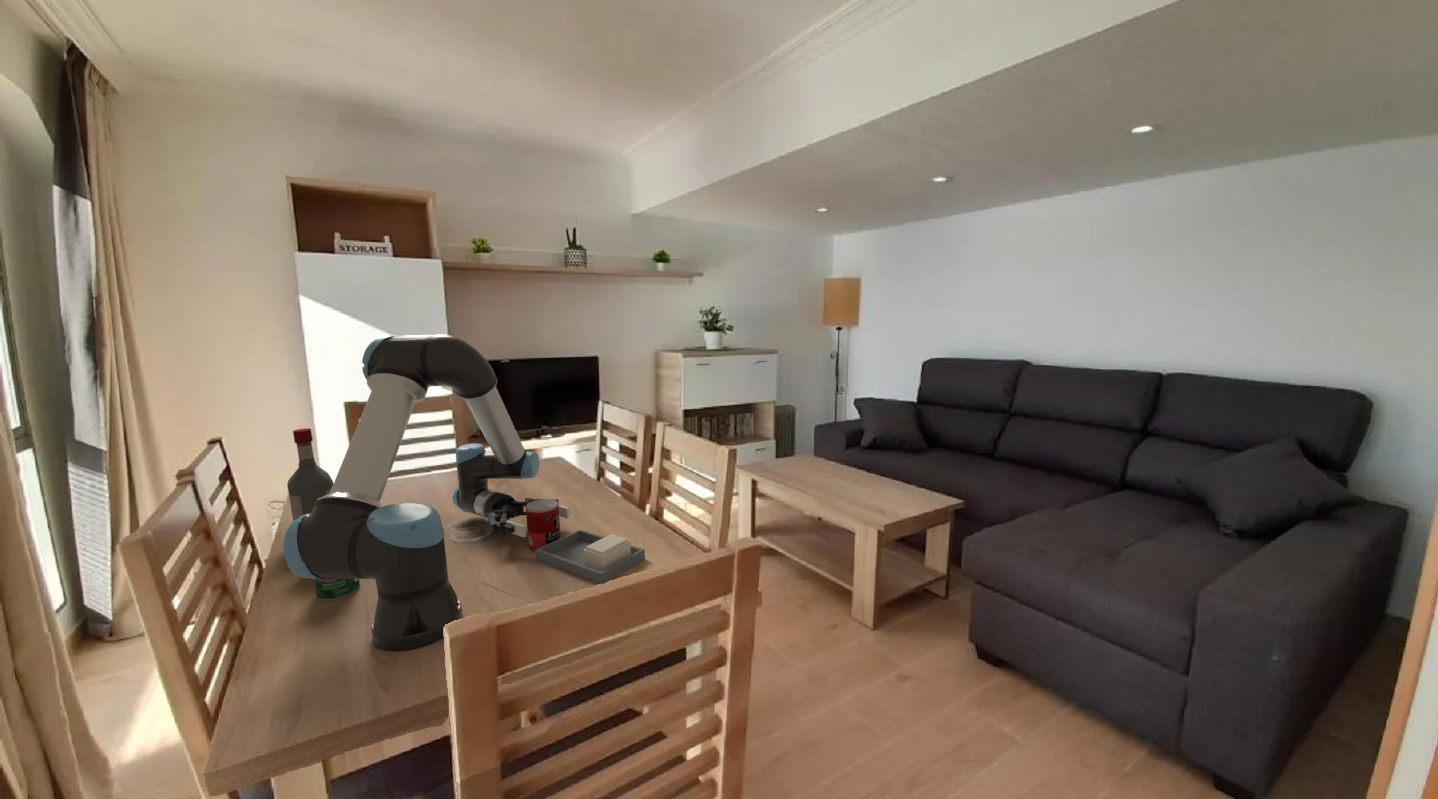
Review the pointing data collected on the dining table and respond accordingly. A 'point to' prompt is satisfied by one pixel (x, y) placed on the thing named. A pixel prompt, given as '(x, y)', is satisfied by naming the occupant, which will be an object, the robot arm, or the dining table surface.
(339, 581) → the canned tomato
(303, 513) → the liquor
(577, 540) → the tray
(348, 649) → the dining table surface
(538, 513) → the canned food
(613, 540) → the off-white rectangular block
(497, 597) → the dining table surface
